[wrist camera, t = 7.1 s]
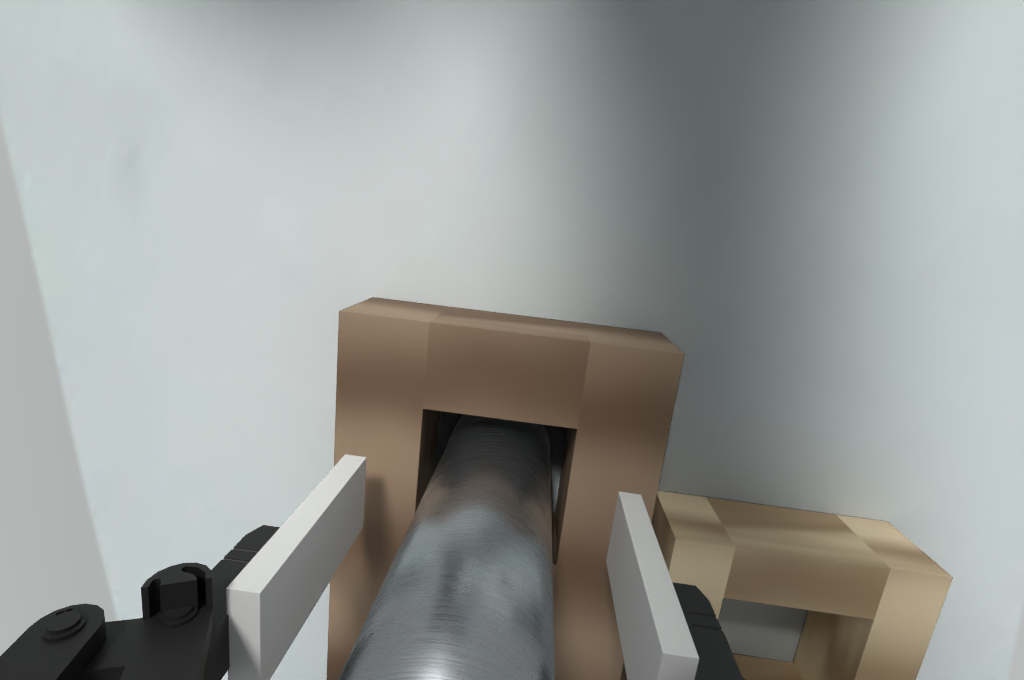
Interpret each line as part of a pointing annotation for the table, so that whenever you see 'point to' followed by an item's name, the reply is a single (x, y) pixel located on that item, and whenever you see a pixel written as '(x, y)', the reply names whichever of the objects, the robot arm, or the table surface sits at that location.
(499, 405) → the socket block
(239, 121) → the table surface
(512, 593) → the grey metal cylinder
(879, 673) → the frame
